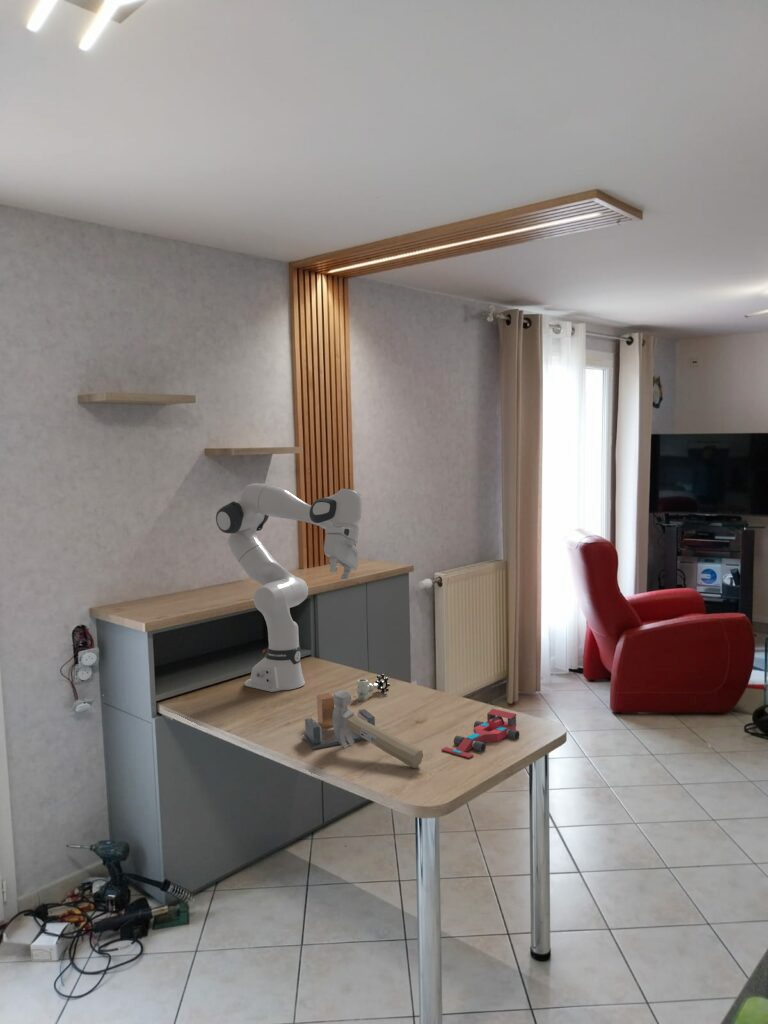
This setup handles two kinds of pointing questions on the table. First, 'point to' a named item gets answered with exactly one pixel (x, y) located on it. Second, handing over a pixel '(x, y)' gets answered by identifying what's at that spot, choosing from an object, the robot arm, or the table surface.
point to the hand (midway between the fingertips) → (338, 576)
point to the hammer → (369, 732)
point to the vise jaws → (330, 732)
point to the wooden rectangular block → (325, 709)
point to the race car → (486, 733)
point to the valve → (371, 686)
